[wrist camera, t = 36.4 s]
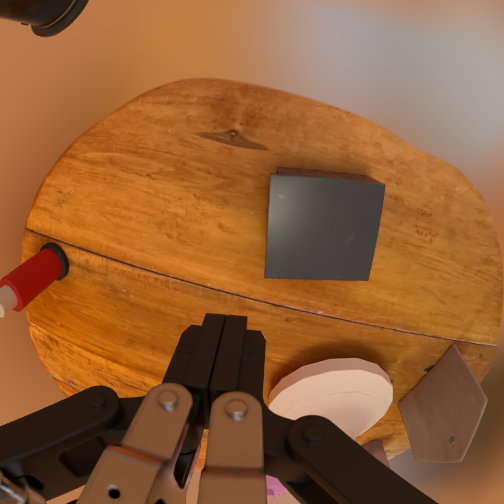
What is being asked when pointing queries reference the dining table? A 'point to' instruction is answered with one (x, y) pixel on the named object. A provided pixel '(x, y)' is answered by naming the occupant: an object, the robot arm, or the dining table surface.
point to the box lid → (321, 227)
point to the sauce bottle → (28, 281)
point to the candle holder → (335, 393)
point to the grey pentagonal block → (443, 410)
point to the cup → (377, 451)
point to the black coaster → (61, 256)
